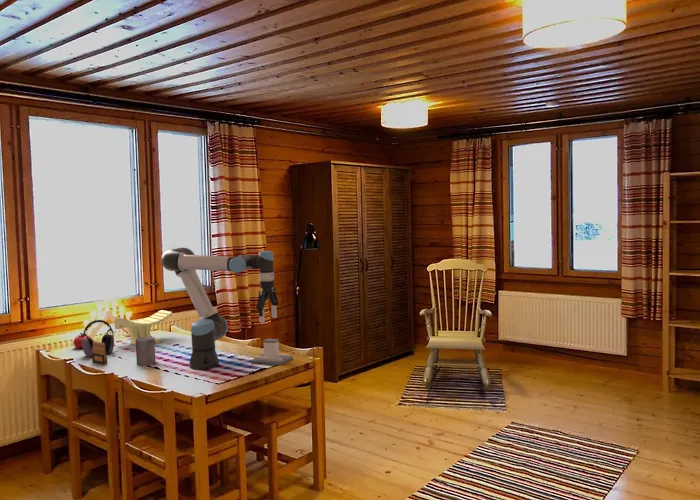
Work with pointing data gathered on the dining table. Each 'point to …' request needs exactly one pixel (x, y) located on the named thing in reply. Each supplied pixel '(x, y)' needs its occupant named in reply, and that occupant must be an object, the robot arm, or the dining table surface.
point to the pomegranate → (79, 341)
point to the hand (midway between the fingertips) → (268, 319)
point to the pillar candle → (145, 350)
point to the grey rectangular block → (271, 348)
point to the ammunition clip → (99, 353)
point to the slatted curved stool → (142, 325)
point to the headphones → (107, 340)
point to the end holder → (272, 359)
